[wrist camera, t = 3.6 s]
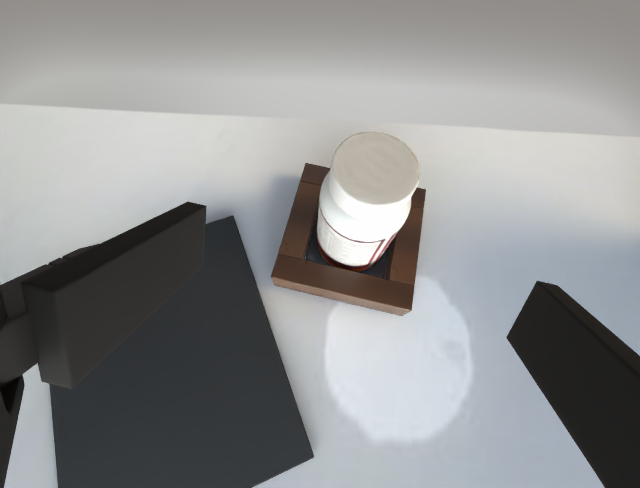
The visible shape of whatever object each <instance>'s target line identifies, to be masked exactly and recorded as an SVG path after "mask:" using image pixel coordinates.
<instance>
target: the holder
mask: <svg viewBox="0 0 640 488" xmlns="http://www.w3.org/2000/svg"><path fill="white" fill-rule="evenodd" d="M329 171H330V168H326V167H322V166H317V165H313V164H308V163H306V164H305V167H304V170H303V173H302V177H301V180H300V183H299V186H298V190H297V193H296V196H295V200H294V203H293V206H292V210H291V213H290V216H289V219H288V223H287V226H286V229H285V233H284V236H283V239H282V242H281V246H280V249H279V252H278V256H277V259H276V262H275V265H274V269H273V272H272V275H271V278H272V281H273V284H274V285H275V286H280V287H284V288H288V289H292V290H296V291H300V292H305V293H309V294H313V295H317V296H321V297H325V298H329V299H334V300H338V301H342V302H346V303H350V304H354V305H359V306H363V307H367V308H371V309H375V310H379V311H384V312H388V313H392V314H396V315H400V316H403V315H404V314H406V313H408V312H410V311H411V310H412V301H413V293H414V284H415V276H416V268H417V259H418V251H419V243H420V234H421V226H422V217H423V208H424V201H425V192H426V190H425V189H421V188H416V190H415V191H414V193H413V195H412V196H411V208H410V212H409V215H408V217H407V219H406V221H405V223H404V224H403V226H402V227H401V228H400V230H399V231H398V233H397V234H396V236H395V237H394V239H393V240H392V241H391V243H390V244H389V248H388V254H387V261H386V267H385V273H384V279H383V278H379V277H375V276H370V275H366V274H362V273H358V272H353V271H349V270H345V269H341V268H336V267H332V266H328V265H324V264H319V263H315V262H311V261H307V260H305V258H306V254H307V250H308V246H309V243H310V239H311V235H312V231H313V228H314V224H315V220H316V216H317V213H318V209H319V196H320V190H321V186H322V183H323V181H324V178H325V177H326V175H327V174H328V172H329Z"/></svg>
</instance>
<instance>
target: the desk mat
mask: <svg viewBox="0 0 640 488" xmlns="http://www.w3.org/2000/svg"><path fill="white" fill-rule="evenodd" d="M50 394H51V406H52V418H53V430H54V442H55V454H56V466H57V478H58V488H252V487H254V486H256V485H258V484H260V483H262V482H264V481H266V480H268V479H271V478H273V477H275V476H277V475H279V474H281V473H283V472H285V471H287V470H289V469H291V468H293V467H295V466H297V465H299V464H301V463H303V462H305V461H308V460H310V459H312V458H313V457H314V455H313V452H312V449H311V446H310V443H309V440H308V437H307V434H306V431H305V428H304V425H303V422H302V419H301V416H300V413H299V410H298V407H297V404H296V401H295V398H294V395H293V392H292V389H291V386H290V384H289V381H288V378H287V375H286V372H285V369H284V366H283V363H282V360H281V357H280V354H279V351H278V348H277V345H276V342H275V339H274V336H273V333H272V330H271V327H270V324H269V321H268V318H267V315H266V312H265V309H264V306H263V303H262V300H261V297H260V294H259V291H258V288H257V285H256V282H255V279H254V276H253V273H252V270H251V267H250V264H249V261H248V258H247V255H246V252H245V249H244V246H243V243H242V240H241V237H240V234H239V231H238V228H237V225H236V222H235V219H234V217H233V216H230V217H227V218H224V219H221V220H217V221H214V222H211V223H208V224H205V241H204V262H203V267H202V268H201V269H200V270H199V271H198V272H197V273H196V274H195V275H194V276H192V277H191V278H190V279H189V280H188V281H187V282H186V283H185V284H184V285H183V286H182V287H181V288H180V289H179V290H178V291H176V292H175V293H174V294H173V295H172V296H171V297H170V298H169V299H168V300H167V301H166V302H165V303H164V304H163V305H162V306H160V307H159V308H158V309H157V310H156V311H155V312H154V313H153V314H152V315H151V316H150V317H149V318H148V319H147V320H146V321H144V322H143V323H142V324H141V325H140V326H139V327H138V328H137V329H136V330H135V331H134V332H133V333H132V334H131V335H129V336H128V337H127V338H126V339H125V340H124V341H123V342H122V343H121V344H120V345H119V346H118V347H117V348H116V349H115V350H113V351H112V352H111V353H110V354H109V355H108V356H107V357H106V358H105V359H104V360H103V361H102V362H101V363H100V364H99V365H97V366H96V367H95V368H94V369H93V370H92V371H91V372H90V373H89V374H88V375H87V376H86V377H85V378H84V379H82V380H81V381H80V382H79V383H78V384H77V385H76V386H75V387H74V388H73V389H69V388H65V387H61V386H58V385H54V384H50Z"/></svg>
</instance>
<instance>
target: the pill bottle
mask: <svg viewBox="0 0 640 488" xmlns="http://www.w3.org/2000/svg"><path fill="white" fill-rule="evenodd" d="M419 177H420V169H419V164H418V161H417V159H416V157H415V155H414V153H413V152H412V151H411V149H410V148H409V147H408V146H407V145H406V144H405V143H403V142H402V141H400V140H399V139H397V138H395V137H393V136H391V135H388V134H384V133H380V132H364V133H359V134H356V135H353V136H351V137H349V138H347V139H346V140H344V141H343V142H342V143H341V144H340V145H339V146H338V147H337V149H336V151H335V152H334V155H333V157H332V161H331V168H330V171H329V172H328V174H327V175H326V177H325V178H324V181H323V183H322V186H321V190H320V196H319V209H318V223H317V246H318V249H319V252H320V254H321V255H322V257H323V258H324V259H325V261H326V262H327V263H329V264H330V265H331V266H333V267H336V268H341V269H345V270H349V271H353V272H359V271H363V270H366V269H368V268H370V267H372V266H373V265H374V264H375V263H376V262H377V261H378V260H379V259H380V258H381V256H382V255H383V254H384V252H385V250H386V249H387V248H388V246H389V244H390V243H391V241H392V240H393V239H394V237H395V236H396V234H397V233H398V231H399V230H400V228H401V227H402V226H403V224H404V223H405V221H406V219H407V217H408V215H409V212H410V208H411V196H412V195H413V193H414V191H415V190H416V188H417V185H418V182H419Z"/></svg>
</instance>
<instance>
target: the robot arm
mask: <svg viewBox="0 0 640 488" xmlns="http://www.w3.org/2000/svg"><path fill="white" fill-rule="evenodd" d="M205 221H206V206H204V205H200V204H196V203H191V202H186V203H184V204H182V205H180V206H178V207H176V208H174V209H172V210H170V211H168V212H166V213H163V214H161V215H159V216H157V217H155V218H153V219H151V220H149V221H147V222H145V223H143V224H141V225H139V226H136V227H134V228H132V229H130V230H128V231H126V232H124V233H122V234H120V235H118V236H116V237H114V238H112V239H109V240H107V241H105V242H103V243H101V244H97V245H93V246H88V247H84V248H80V249H78V250H75V251H73V252H71V253H69V254H67V255H65V256H63V258H58V259H56V260H54V261H52V262H50V263H49V264H48V265H46V264H45V265H43V266H41V267H39V268H37V269H34V270H32V271H30V272H28V273H26V274H24V275H21V276H19V277H17V278H15V279H13V280H11V281H9V282H6V283H4V284H2V285H0V488H4V483H5V479H6V474H7V469H8V464H9V459H10V454H11V449H12V444H13V439H14V434H15V429H16V425H17V420H18V415H19V410H20V405H21V400H22V395H23V390H24V380H23V375H22V374H23V373H25V372H26V371H27V370H28V369H30V368H31V367H32V366H34V365H35V364H36V363H38V366H39V371H40V376H41V380H42V382H46V383H50V384H54V385H58V386H61V387H65V388H69V389H73V388H74V387H75V386H76V385H77V384H78V383H79V382H80V381H81V380H82V379H84V378H85V377H86V376H87V375H88V374H89V373H90V372H91V371H92V370H93V369H94V368H95V367H96V366H97V365H99V364H100V363H101V362H102V361H103V360H104V359H105V358H106V357H107V356H108V355H109V354H110V353H111V352H112V351H113V350H115V349H116V348H117V347H118V346H119V345H120V344H121V343H122V342H123V341H124V340H125V339H126V338H127V337H128V336H129V335H131V334H132V333H133V332H134V331H135V330H136V329H137V328H138V327H139V326H140V325H141V324H142V323H143V322H144V321H146V320H147V319H148V318H149V317H150V316H151V315H152V314H153V313H154V312H155V311H156V310H157V309H158V308H159V307H160V306H162V305H163V304H164V303H165V302H166V301H167V300H168V299H169V298H170V297H171V296H172V295H173V294H174V293H175V292H176V291H178V290H179V289H180V288H181V287H182V286H183V285H184V284H185V283H186V282H187V281H188V280H189V279H190V278H191V277H192V276H194V275H195V274H196V273H197V272H198V271H199V270H200V269H201V268H202V267H203V262H204V241H205ZM507 339H508V341H509V342H510V344H511V345H512V347H513V348H514V350H515V351H516V353H517V354H518V356H519V357H520V359H521V360H522V362H523V363H524V365H525V367H526V368H527V370H528V371H529V373H530V374H531V376H532V377H533V379H534V380H535V382H536V383H537V385H538V386H539V388H540V389H541V391H542V392H543V394H544V395H545V397H546V398H547V400H548V401H549V403H550V405H551V406H552V408H553V409H554V411H555V412H556V414H557V415H558V417H559V418H560V420H561V421H562V423H563V424H564V426H565V427H566V429H567V430H568V432H569V433H570V435H571V436H572V438H573V440H574V441H575V443H576V444H577V446H578V447H579V449H580V450H581V452H582V453H583V455H584V456H585V458H586V459H587V461H588V462H589V464H590V465H591V467H592V468H593V470H594V471H595V473H596V474H597V476H598V478H599V479H600V481H601V482H602V484H603V485H604V487H605V488H640V356H639V355H638V354H637V353H636V352H634V351H633V350H632V349H631V348H630V347H629V346H627V345H626V344H625V343H624V342H623V341H622V340H620V339H619V338H618V337H617V336H616V335H615V334H613V333H612V332H611V331H610V330H609V329H608V328H606V327H605V326H604V325H603V324H602V323H601V322H599V321H598V320H597V319H596V318H595V317H594V316H592V315H591V314H590V313H589V312H588V311H587V310H585V309H584V308H583V307H582V306H581V305H580V304H578V303H577V302H576V301H575V300H574V299H573V298H571V297H570V296H569V295H568V294H567V293H566V292H564V291H563V290H562V289H561V288H560V287H559V286H557V285H553V284H549V283H545V282H540V281H537V282H536V284H535V286H534V287H533V289H532V291H531V293H530V295H529V297H528V299H527V300H526V302H525V304H524V306H523V308H522V310H521V312H520V313H519V315H518V317H517V319H516V321H515V323H514V325H513V326H512V328H511V330H510V332H509V334H508V336H507Z"/></svg>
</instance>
